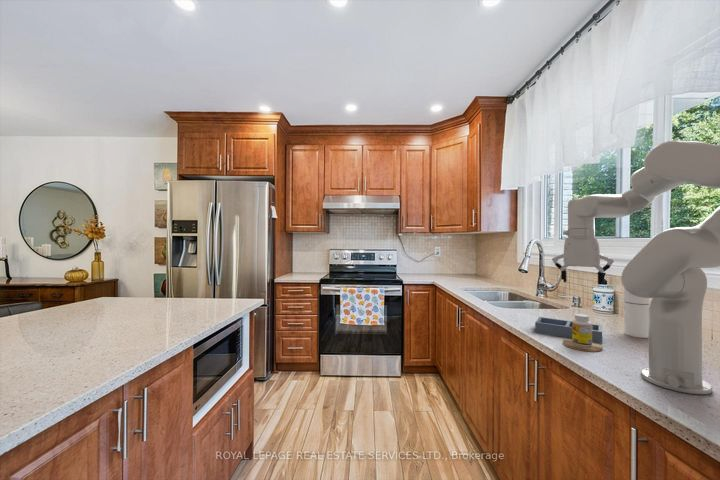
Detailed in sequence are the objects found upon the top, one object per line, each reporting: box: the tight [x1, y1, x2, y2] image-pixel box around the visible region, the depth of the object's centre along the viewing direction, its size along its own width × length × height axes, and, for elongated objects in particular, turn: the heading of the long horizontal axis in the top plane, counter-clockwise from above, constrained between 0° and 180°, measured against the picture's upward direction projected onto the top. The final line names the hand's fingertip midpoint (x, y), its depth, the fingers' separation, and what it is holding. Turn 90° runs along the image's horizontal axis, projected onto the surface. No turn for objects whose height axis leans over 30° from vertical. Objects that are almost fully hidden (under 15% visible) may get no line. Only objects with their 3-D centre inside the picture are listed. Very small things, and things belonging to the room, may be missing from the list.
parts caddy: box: [534, 316, 603, 344], centre depth 118 cm, size 11×21×4 cm, turn 51°
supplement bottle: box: [571, 313, 593, 347], centre depth 104 cm, size 6×6×10 cm
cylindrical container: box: [623, 287, 650, 339], centre depth 117 cm, size 7×7×25 cm
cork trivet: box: [562, 338, 603, 353], centre depth 104 cm, size 11×11×1 cm
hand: (581, 282), depth 104 cm, fingers open, 9 cm apart
